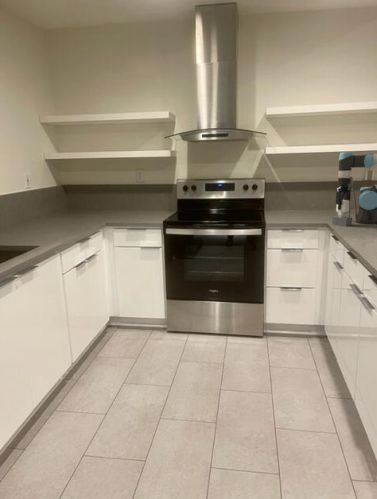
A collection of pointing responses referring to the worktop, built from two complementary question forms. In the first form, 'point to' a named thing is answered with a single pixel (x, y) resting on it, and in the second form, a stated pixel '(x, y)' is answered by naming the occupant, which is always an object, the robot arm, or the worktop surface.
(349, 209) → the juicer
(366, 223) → the robot arm
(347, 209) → the plug
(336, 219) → the socket block
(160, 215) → the worktop surface
